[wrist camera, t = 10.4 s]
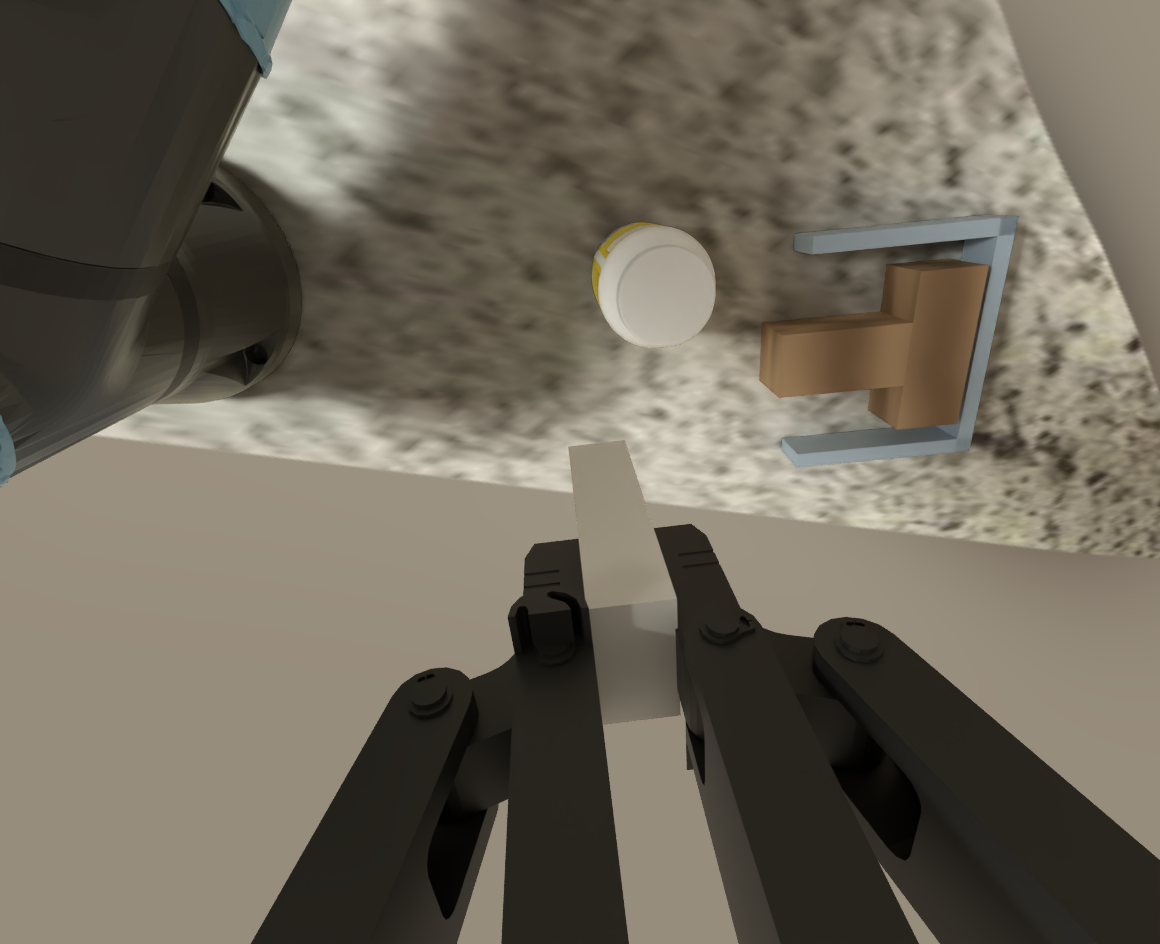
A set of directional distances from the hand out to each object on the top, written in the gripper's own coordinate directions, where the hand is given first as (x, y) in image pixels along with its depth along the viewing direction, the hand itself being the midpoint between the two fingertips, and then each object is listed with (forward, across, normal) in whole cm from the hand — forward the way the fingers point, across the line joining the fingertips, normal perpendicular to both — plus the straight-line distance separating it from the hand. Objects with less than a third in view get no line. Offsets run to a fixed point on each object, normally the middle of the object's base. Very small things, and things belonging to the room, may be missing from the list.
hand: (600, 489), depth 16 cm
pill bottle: (+25, +5, +2) cm, 26 cm away
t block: (+25, +19, -4) cm, 32 cm away
